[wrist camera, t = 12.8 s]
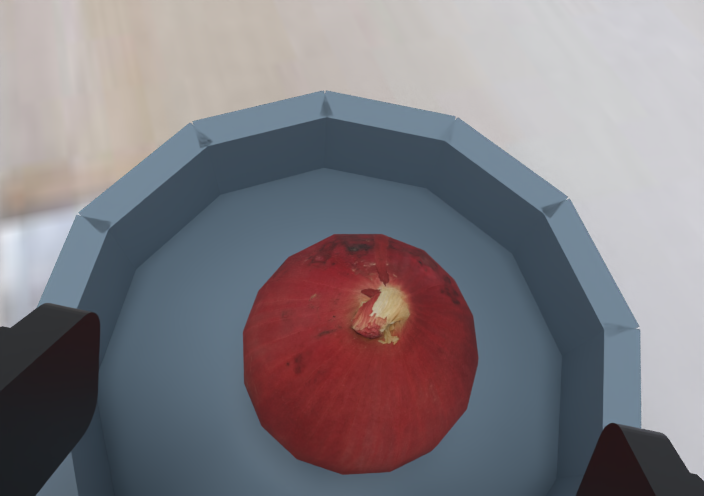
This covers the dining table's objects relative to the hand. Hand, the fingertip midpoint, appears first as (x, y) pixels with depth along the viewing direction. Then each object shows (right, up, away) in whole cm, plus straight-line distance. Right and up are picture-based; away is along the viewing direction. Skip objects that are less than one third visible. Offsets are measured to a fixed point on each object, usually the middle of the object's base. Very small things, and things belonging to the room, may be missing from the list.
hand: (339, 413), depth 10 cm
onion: (0, -1, +9) cm, 9 cm away
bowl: (0, -2, +10) cm, 10 cm away
